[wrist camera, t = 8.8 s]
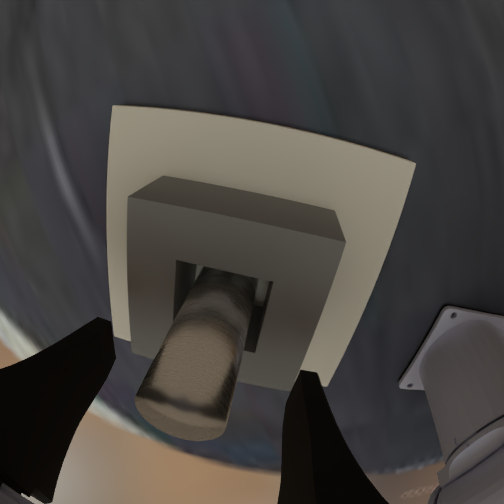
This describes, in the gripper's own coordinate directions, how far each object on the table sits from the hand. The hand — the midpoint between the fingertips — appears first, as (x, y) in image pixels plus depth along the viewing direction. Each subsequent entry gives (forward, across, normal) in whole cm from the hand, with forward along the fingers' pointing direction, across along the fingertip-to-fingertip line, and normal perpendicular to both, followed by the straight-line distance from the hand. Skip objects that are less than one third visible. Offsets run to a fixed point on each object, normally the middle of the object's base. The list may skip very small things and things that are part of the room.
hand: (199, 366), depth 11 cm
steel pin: (+8, 0, 0) cm, 8 cm away
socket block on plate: (+9, 0, 0) cm, 9 cm away
